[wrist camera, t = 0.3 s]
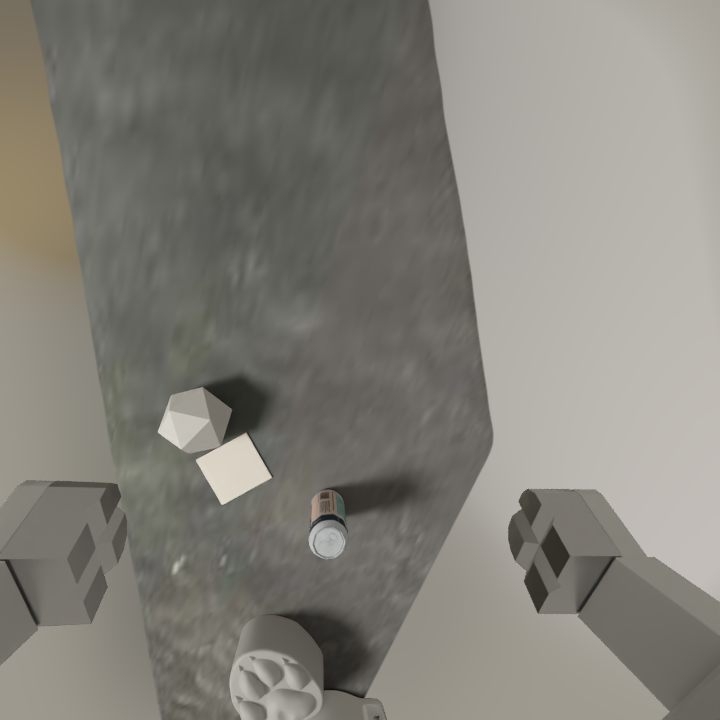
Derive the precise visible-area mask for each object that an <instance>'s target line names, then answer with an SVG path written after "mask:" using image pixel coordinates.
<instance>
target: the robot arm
mask: <svg viewBox="0 0 720 720" xmlns="http://www.w3.org/2000/svg"><path fill="white" fill-rule="evenodd" d="M120 498H121V494H120V491H119V488H118V484H113V483H95V482H72V481H35V480H26V481H25V482H23V483H22V484H20V485H18V486H17V487H16V488H15V490H14V491H13V492H12V493H11V495H10V496H9V497H8V498H7V499H6V501H5V502H4V503H3V505H2V506H1V507H0V665H1V664H2V663H3V662H4V661H6V659H8V658H9V657H10V656H11V655H12V654H13V653H14V652H15V651H16V650H17V649H18V648H19V647H20V646H21V645H22V644H23V643H24V642H26V641H27V640H28V639H29V638H30V637H31V636H32V635H33V634H34V633H35V632H36V631H37V630H38V628H37V627H38V626H58V625H77V624H91V623H92V621H93V619H94V616H95V614H96V612H97V610H98V607H99V605H100V603H101V600H102V598H103V596H104V594H105V592H106V589H107V583H106V580H105V576H104V574H106V573H107V572H108V571H109V570H110V569H112V568H113V567H114V566H115V565H117V564H118V561H119V559H120V557H121V554H122V552H123V550H124V545H125V541H126V536H127V519H126V515H125V512H123V511H122V510H121V509H120V508H118V507H117V504H118V502H119V500H120ZM519 503H520V506H521V507H522V509H521V510H520V511H518V512H517V513H516V514H514V515H513V516H512V518H511V521H510V524H509V527H508V540H509V544H510V549H511V552H512V554H513V557H514V559H515V561H516V562H517V563H518V564H519V565H520V566H521V567H522V568H523V569H525V570H526V571H527V572H526V576H525V580H524V583H525V585H526V587H527V590H528V592H529V594H530V597H531V599H532V601H533V603H534V606H535V608H536V610H537V613H538V614H579V615H578V617H579V618H580V619H581V620H582V621H583V622H584V623H585V624H586V625H587V626H588V627H589V628H590V629H591V631H592V632H593V633H594V634H595V635H596V636H597V637H598V638H599V639H600V640H601V641H602V642H603V643H604V644H605V645H606V646H607V647H608V648H609V649H610V650H611V651H612V652H613V653H614V654H615V655H616V656H617V657H618V658H619V660H621V662H622V663H623V664H624V665H625V666H626V667H627V668H628V669H629V670H630V671H631V672H632V673H633V674H634V675H635V676H636V677H637V678H638V679H639V680H640V681H641V682H642V683H643V684H644V685H645V686H646V687H647V688H648V689H649V691H650V692H651V693H652V694H653V695H654V696H655V697H656V698H657V699H658V700H659V701H660V702H661V703H662V704H663V705H664V706H665V707H666V708H667V709H668V710H669V711H670V712H669V713H668V714H667V715H666V716H665V717H664V718H663V719H662V720H720V602H719V601H717V600H716V599H714V598H713V597H711V596H710V595H709V594H707V593H706V592H704V591H703V590H701V589H700V588H698V587H697V586H696V585H694V584H692V583H691V582H690V581H688V580H687V579H685V578H684V577H682V576H681V575H680V574H678V573H677V572H675V571H674V570H672V569H671V568H669V567H668V566H667V565H665V564H664V563H662V562H661V561H659V560H658V559H656V558H654V557H647V556H646V554H645V553H644V552H643V550H642V549H641V548H640V546H639V545H638V543H637V542H636V541H635V539H634V538H633V536H632V535H631V534H630V532H629V531H628V530H627V528H626V527H625V526H624V524H623V523H622V521H621V520H620V519H619V517H618V516H617V514H616V513H615V512H614V510H613V509H612V508H611V506H610V505H609V503H608V502H607V501H606V499H605V498H604V497H603V495H602V494H601V493H599V492H598V491H596V490H579V489H573V490H569V489H527V490H525V491H524V492H523V493H522V495H521V497H520V499H519ZM376 715H378V716H376ZM309 720H387V719H386V716H385V712H384V709H383V706H382V704H381V702H380V701H379V700H377V699H372V698H358V697H355V696H353V695H350V694H348V693H345V692H341V691H335V690H325V691H324V699H323V705H322V708H321V710H320V712H319V713H318V714H317V715H315V716H314V717H313V718H311V719H309Z"/></svg>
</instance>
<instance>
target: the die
mask: <svg viewBox="0 0 720 720" xmlns="http://www.w3.org/2000/svg"><path fill="white" fill-rule="evenodd" d="M231 412H232V409H231V408H230V407H228V406H227V405H226V404H224V403H223V402H222V401H220V400H219V399H218V398H216V397H215V396H214V395H212V394H211V393H210V392H208V391H207V390H206V389H204V388H203V387H201V388H197V389H193V390H189V391H186V392H182V393H178V394H174V395H171V397H170V400H169V403H168V406H167V408H166V411H165V414H164V417H163V419H162V422H161V425H160V428H159V431H158V433H159V434H161V435H162V436H163V437H165V438H166V439H168V440H169V441H170V442H172V443H173V444H174V445H176V446H177V447H179V448H180V449H181V450H183V451H186V452H188V453H193V452H198V451H203V450H208V449H212V448H217V447H221V445H222V441H223V438H224V435H225V432H226V428H227V425H228V422H229V419H230V416H231Z"/></svg>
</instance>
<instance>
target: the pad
mask: <svg viewBox="0 0 720 720" xmlns="http://www.w3.org/2000/svg"><path fill="white" fill-rule="evenodd" d="M196 462H197V463H198V465H199V467H200V468H201V470H202V472H203V474H204V475H205V477H206V479H207V480H208V482H209V484H210V485H211V487H212V489H213V490H214V492H215V494H216V496H217V497H218V499H219V501H220V502H221V504H222V505H223V504H225V503H227V502H229V501H231V500H232V499H234V498H236V497H238V496H240V495H242V494H243V493H245V492H247V491H249V490H251V489H252V488H254V487H256V486H258V485H260V484H261V483H263V482H265V481H267V480H269V479H271V478H272V476H271V474H270V473H269V471H268V469H267V467H266V466H265V464H264V462H263V461H262V459H261V457H260V455H259V454H258V452H257V450H256V448H255V447H254V445H253V443H252V441H251V440H250V438H249V436H248V434H247V433H244V434H243V435H241V436H239V437H237V438H235V439H233V440H232V441H230V442H228V443H226V444H224V445H222V446H221V447H219V448H217V449H215V450H213V451H211V452H209V453H208V454H206V455H204V456H202V457H200V458H198V459H197V460H196Z"/></svg>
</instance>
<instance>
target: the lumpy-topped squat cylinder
mask: <svg viewBox="0 0 720 720" xmlns="http://www.w3.org/2000/svg"><path fill="white" fill-rule="evenodd" d="M230 692H231V698H232V702H233V705H234V707H235V708H236V710H237V711H238V713H239V714H240V716H241V719H242V720H309V719H311V718H313V717H314V716H315V715H317V714H318V713H319V712H320V710H321V708H322V705H323V699H324V687H323V655H322V652H321V650H320V648H319V647H318V645H317V644H316V642H315V641H314V640H313V638H312V637H311V636H310V635H309V634H308V632H307V631H306V630H305V629H304V628H303V627H302V626H301V625H299V624H298V623H297V622H295V621H293V620H291V619H288V618H285V617H281V616H277V615H263V616H258V617H255V618H253V619H251V620H250V621H249V622H248V623H247V624H246V625H245V626H244V628H243V630H242V633H241V637H240V640H239V644H238V648H237V652H236V655H235V659H234V663H233V666H232V670H231V675H230Z"/></svg>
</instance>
